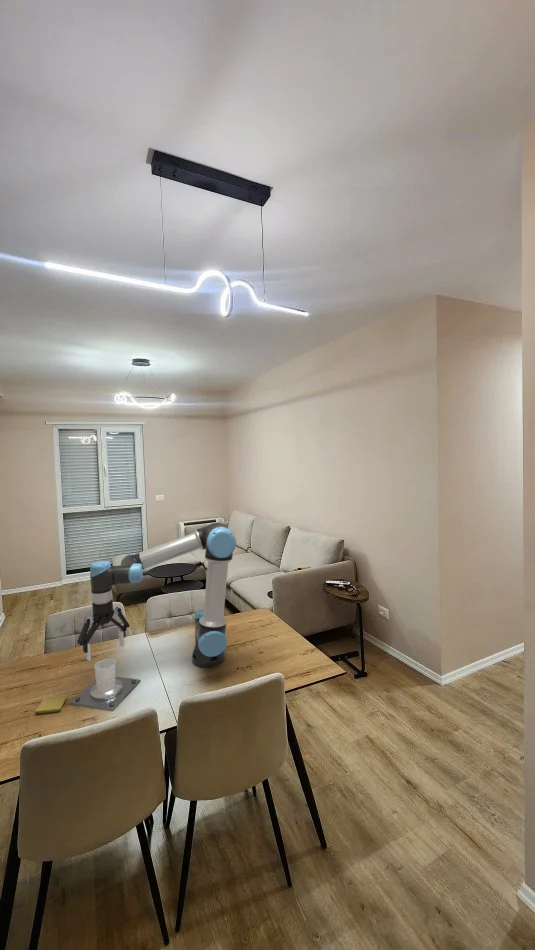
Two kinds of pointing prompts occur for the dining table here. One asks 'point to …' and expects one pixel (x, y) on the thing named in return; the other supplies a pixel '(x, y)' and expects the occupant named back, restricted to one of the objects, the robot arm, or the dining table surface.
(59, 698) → the yellow square tray
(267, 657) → the dining table surface
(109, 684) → the white cup
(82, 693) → the panel
